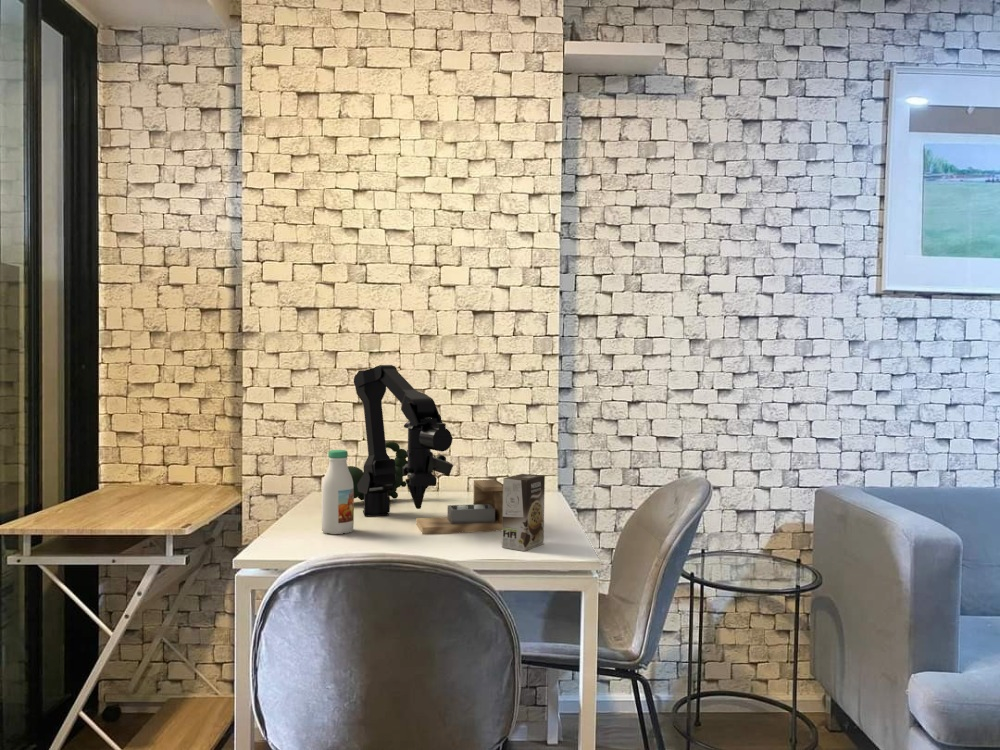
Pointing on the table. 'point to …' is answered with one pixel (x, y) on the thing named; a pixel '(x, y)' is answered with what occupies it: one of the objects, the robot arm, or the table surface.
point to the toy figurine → (399, 463)
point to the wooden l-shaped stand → (483, 494)
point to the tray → (471, 514)
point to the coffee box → (523, 511)
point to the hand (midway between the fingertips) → (418, 508)
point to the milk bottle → (337, 495)
